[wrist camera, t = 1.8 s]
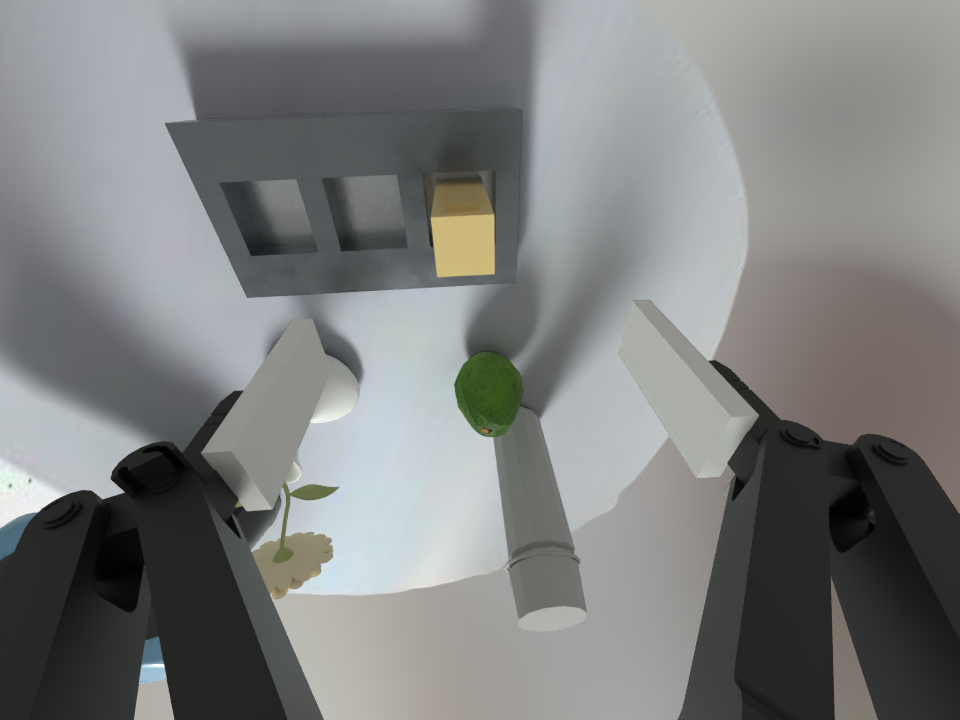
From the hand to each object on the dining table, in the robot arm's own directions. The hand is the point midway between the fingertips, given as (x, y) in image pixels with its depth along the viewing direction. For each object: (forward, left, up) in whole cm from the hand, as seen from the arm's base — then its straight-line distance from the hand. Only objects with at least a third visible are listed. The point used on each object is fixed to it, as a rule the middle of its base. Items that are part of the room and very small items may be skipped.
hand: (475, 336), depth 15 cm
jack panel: (-8, 0, -24) cm, 25 cm away
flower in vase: (-19, -21, -24) cm, 37 cm away
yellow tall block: (0, 0, -23) cm, 23 cm away
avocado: (+2, -20, -24) cm, 31 cm away
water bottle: (+6, -32, -24) cm, 40 cm away
